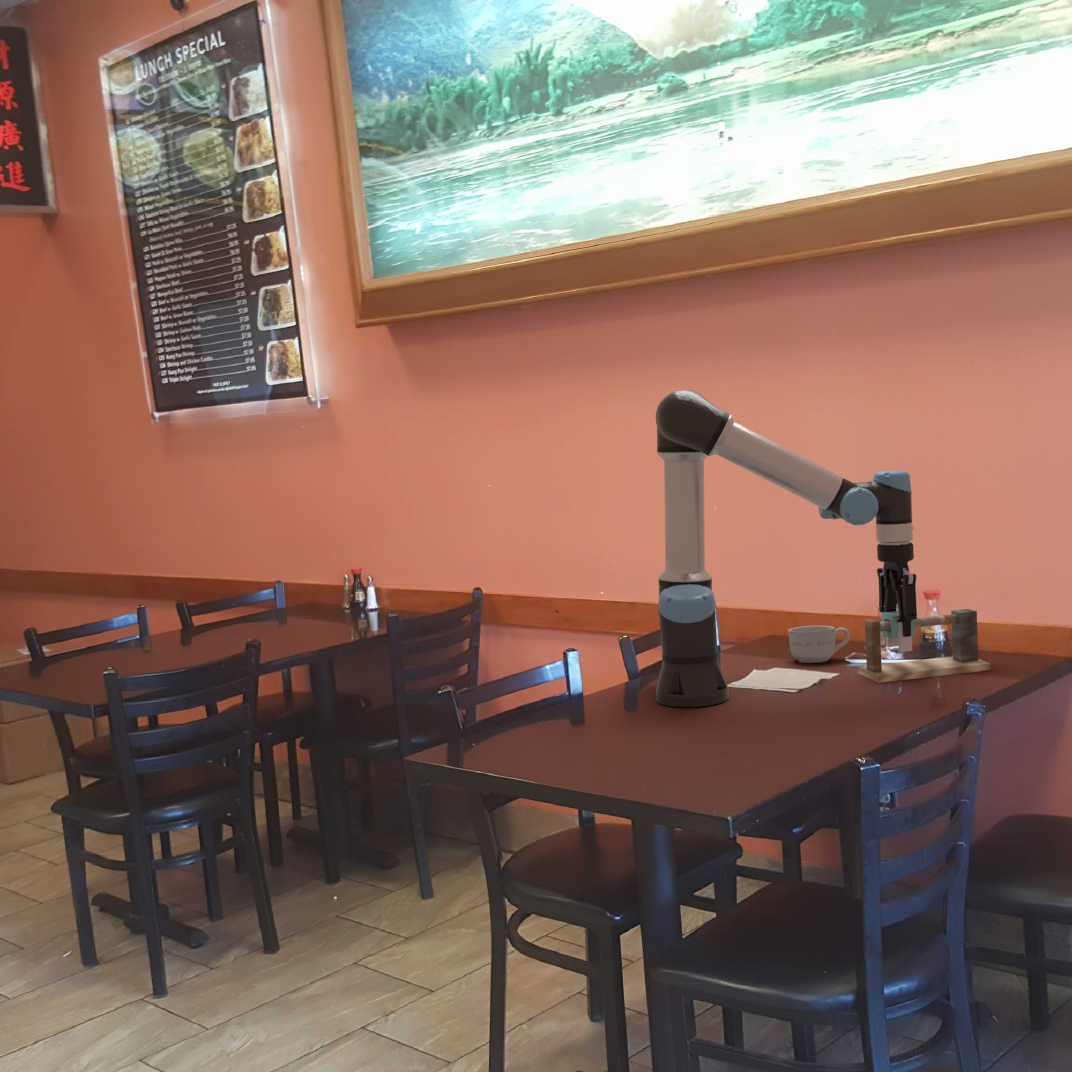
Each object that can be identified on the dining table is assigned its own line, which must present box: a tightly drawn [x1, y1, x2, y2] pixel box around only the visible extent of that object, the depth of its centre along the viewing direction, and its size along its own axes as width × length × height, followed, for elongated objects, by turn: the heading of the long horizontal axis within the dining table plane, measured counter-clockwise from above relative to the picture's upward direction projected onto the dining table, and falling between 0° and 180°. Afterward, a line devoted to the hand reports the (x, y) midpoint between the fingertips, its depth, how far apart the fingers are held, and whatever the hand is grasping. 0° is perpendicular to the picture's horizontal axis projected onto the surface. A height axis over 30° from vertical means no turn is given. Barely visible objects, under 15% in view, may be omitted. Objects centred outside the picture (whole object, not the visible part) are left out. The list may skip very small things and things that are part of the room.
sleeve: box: [881, 610, 916, 639], centre depth 260 cm, size 5×5×5 cm
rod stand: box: [857, 608, 992, 683], centre depth 261 cm, size 26×10×12 cm, turn 100°
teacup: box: [787, 625, 851, 664], centre depth 279 cm, size 14×11×8 cm
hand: (899, 648), depth 260 cm, fingers closed on sleeve, 5 cm apart
